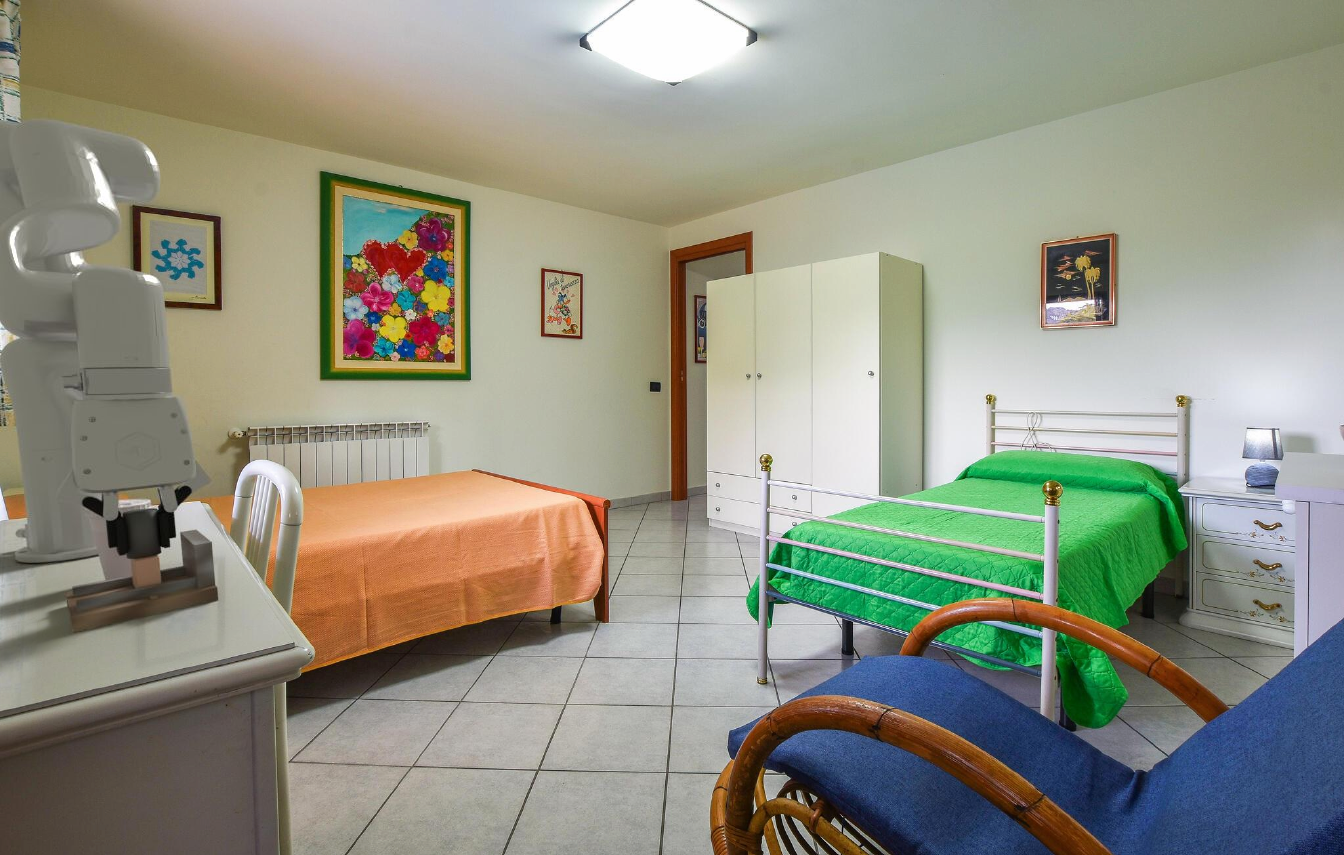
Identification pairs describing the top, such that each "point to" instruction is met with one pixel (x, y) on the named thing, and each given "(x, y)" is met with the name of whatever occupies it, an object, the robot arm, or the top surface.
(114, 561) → the smoothie
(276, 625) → the top surface
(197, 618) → the top surface
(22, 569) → the top surface
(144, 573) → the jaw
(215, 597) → the vise base
